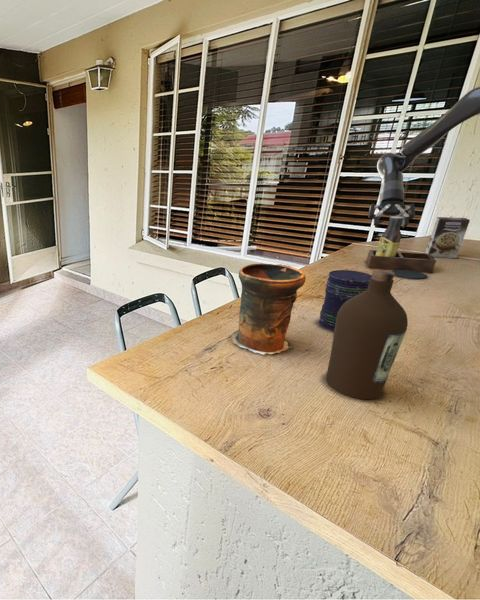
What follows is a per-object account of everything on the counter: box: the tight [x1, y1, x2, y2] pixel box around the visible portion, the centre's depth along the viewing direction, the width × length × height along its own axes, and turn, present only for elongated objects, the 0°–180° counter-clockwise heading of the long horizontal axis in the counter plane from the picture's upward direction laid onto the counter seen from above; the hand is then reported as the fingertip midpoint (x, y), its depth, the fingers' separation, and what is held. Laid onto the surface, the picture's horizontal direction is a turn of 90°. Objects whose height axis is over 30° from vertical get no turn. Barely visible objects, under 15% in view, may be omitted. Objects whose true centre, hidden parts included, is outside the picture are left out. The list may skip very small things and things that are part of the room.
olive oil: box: [325, 269, 409, 400], centre depth 68 cm, size 11×11×25 cm
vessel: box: [231, 262, 307, 356], centre depth 88 cm, size 14×14×20 cm
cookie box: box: [425, 216, 471, 259], centre depth 148 cm, size 9×6×16 cm
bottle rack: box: [366, 249, 437, 274], centre depth 140 cm, size 19×11×5 cm, turn 56°
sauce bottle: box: [375, 215, 404, 257], centre depth 140 cm, size 6×6×20 cm
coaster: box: [390, 270, 428, 280], centre depth 131 cm, size 10×10×1 cm
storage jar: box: [318, 269, 372, 333], centre depth 95 cm, size 10×10×15 cm
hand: (390, 226), depth 141 cm, fingers open, 8 cm apart
